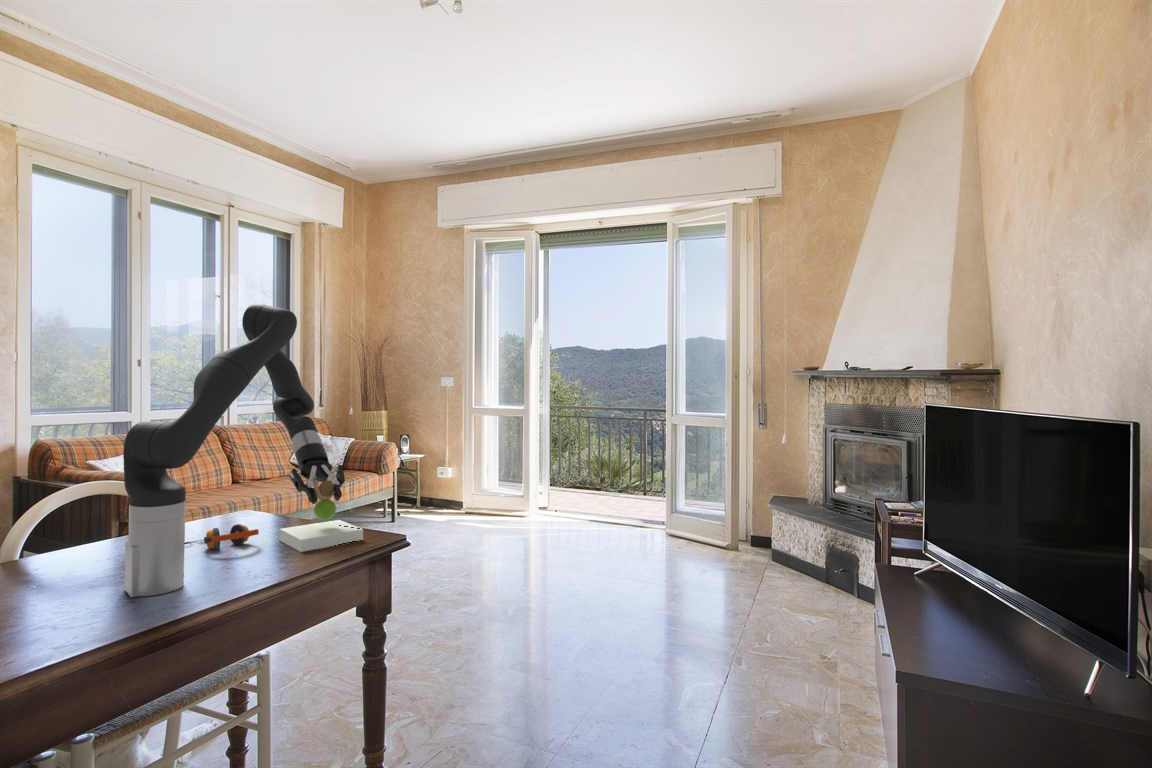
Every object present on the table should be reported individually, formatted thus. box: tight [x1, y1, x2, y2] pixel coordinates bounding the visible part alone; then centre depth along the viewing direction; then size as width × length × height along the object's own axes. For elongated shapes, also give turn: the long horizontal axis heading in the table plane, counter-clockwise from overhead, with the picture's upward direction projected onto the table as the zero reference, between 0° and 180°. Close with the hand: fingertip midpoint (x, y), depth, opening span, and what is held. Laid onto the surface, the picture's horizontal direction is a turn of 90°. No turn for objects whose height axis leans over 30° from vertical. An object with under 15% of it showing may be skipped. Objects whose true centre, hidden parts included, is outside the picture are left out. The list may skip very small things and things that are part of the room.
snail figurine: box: [313, 476, 337, 521], centre depth 159 cm, size 5×6×12 cm
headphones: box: [185, 523, 260, 550], centre depth 151 cm, size 16×5×20 cm
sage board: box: [278, 519, 364, 553], centre depth 157 cm, size 16×14×3 cm
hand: (327, 500), depth 158 cm, fingers closed on snail figurine, 5 cm apart
